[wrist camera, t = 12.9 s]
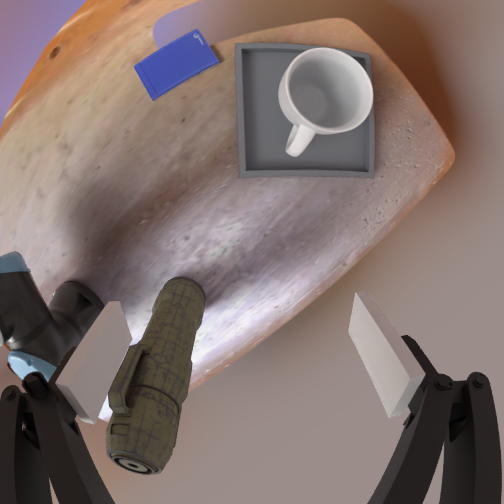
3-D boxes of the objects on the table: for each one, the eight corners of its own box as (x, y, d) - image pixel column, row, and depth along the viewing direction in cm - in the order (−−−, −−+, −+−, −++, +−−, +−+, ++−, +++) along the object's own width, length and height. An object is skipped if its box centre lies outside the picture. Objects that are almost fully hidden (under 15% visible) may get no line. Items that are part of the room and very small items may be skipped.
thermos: (186, 262, 49) (120, 437, 16) (217, 311, 53) (199, 485, 20) (148, 280, 50) (66, 436, 17) (180, 325, 54) (140, 484, 21)
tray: (239, 175, 43) (239, 177, 40) (235, 49, 35) (234, 43, 32) (366, 176, 43) (373, 178, 41) (362, 58, 35) (369, 54, 32)
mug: (314, 168, 42) (342, 178, 30) (251, 140, 40) (255, 137, 28) (348, 91, 37) (385, 76, 25) (287, 61, 35) (305, 32, 23)
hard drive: (197, 27, 32) (132, 65, 34) (219, 61, 35) (152, 100, 37) (198, 30, 33) (136, 67, 35) (220, 64, 36) (155, 101, 38)
